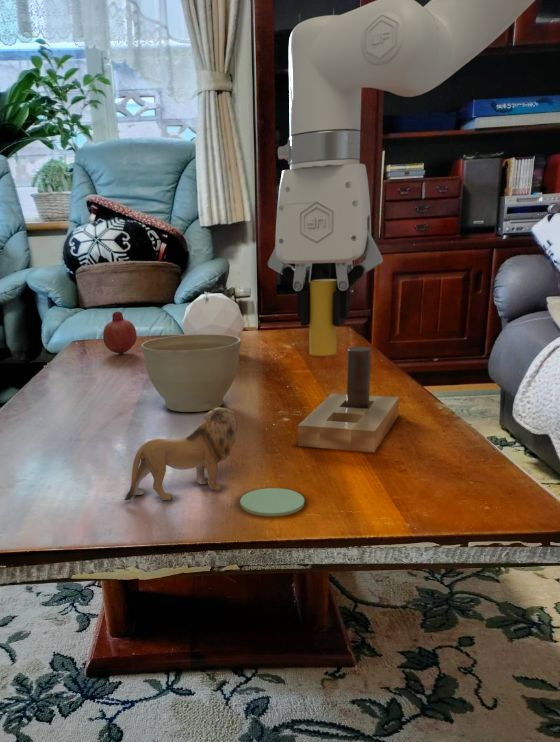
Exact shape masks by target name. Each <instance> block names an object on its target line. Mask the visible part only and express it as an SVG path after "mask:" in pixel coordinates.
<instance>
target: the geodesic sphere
mask: <svg viewBox="0 0 560 742" xmlns="http://www.w3.org/2000/svg"><path fill="white" fill-rule="evenodd" d="M244 327H245V320H244V317H243V314H242V312H241V309H240V306H239V304H238V303H236V302H235V301H234V300H233V299H231V298H229V297H228V296H226V295H225V294H224V293H222V292H221V293H220V292H219V293H212V292H209V291H208V292H207V291H204V293H202V294H200V295H199V296H198V297H197V298H195V299H194V300H193V301H191V303H189V304H188V305H187V306H186V307H185V311H184V315H183V319H182V323H181V329H182V332H183V335H192V334H219V335H231V336H236V337H238V338H240V339H241V337H242V335H243V330H244Z"/></svg>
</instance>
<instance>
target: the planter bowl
mask: <svg viewBox="0 0 560 742" xmlns="http://www.w3.org/2000/svg"><path fill="white" fill-rule="evenodd" d="M241 345H242V339H241V338H238V337H236V336H231V335H219V334H192V335H184V334H179V335H171V336H165V337H158V338H153V339H149V340H147V341H145V342H142V343H141V345H140V346H141V351H142V354H143V359H144V364H145V369H146V372H147V375H148V378H149V380H150V382H151V384H152V386H153V388H154V389H155V390H156V392H157V393H158V394H159V395H160V397H161V398H162V399H163V400H164V404H165V407H166V408H167V409H168V410H170V411H174V412H181V413H199V412H205V411H206V412H207V411H212V410H213V409H214V408H219V407H220V408H221V406H222V405H223V403H224V397H225V395H226V394H227V393H228V391H229V390H230V388H231V386H232V384H233V382H234V381H235V378H236V375H237V372H238V368H239V363H240V348H241Z"/></svg>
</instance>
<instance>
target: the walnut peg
mask: <svg viewBox="0 0 560 742" xmlns="http://www.w3.org/2000/svg"><path fill="white" fill-rule="evenodd" d="M371 359H372V349H371V348H370V347H368V346H353V347H349V348H347V363H346V366H347V367H346V394H347V406H346V407H349V408H365V409H369V396H370V388H371V387H370V386H371V384H370V383H371V361H372V360H371Z"/></svg>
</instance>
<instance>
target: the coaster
mask: <svg viewBox="0 0 560 742" xmlns="http://www.w3.org/2000/svg"><path fill="white" fill-rule="evenodd" d="M239 505H240V507H241V509H242V510H244V511H245V512H247V513H249V514H252V515H255V516H261V517H281V516H282V517H283V516H289V515H292V514H295V513H297V512H299V511H300V510H302V509H303V508H304V506H305V497H304V496H303V495H302V494H301V493H299V492H298V491H294V490H292V489H287V488H279V487H266V488H260V489H259V488H258V489H255V490H252V491H248V492H247V493H245V494H244V495H242V496H241V498H240V500H239Z"/></svg>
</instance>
